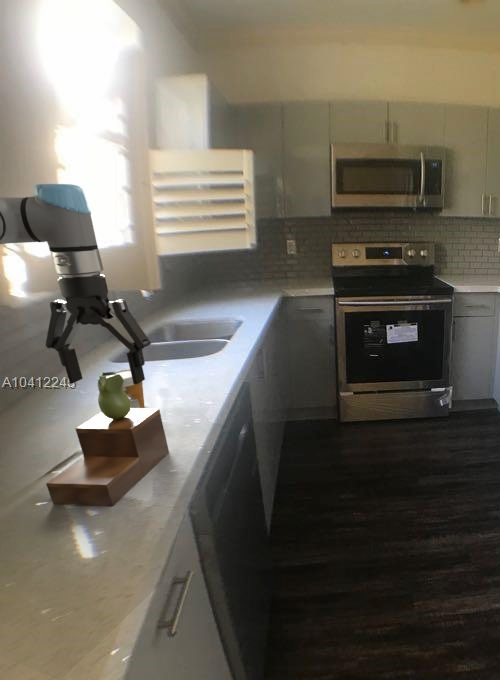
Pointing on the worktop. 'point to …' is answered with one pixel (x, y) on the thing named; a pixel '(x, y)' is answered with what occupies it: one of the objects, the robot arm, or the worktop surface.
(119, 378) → the pear
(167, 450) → the wooden step stand
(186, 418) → the worktop surface
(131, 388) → the disposable coffee cup
